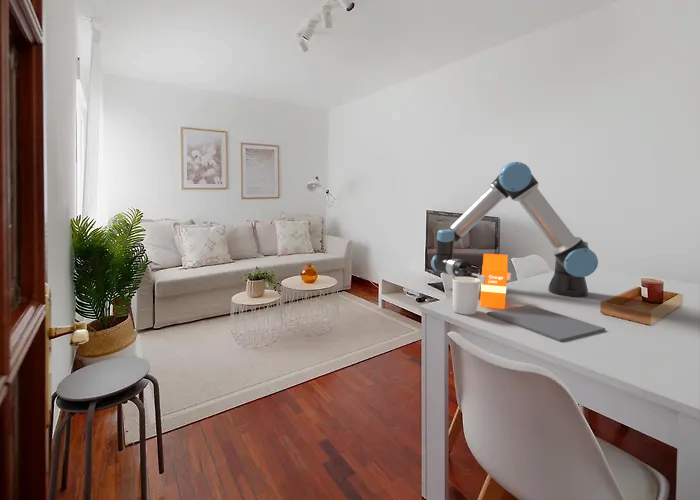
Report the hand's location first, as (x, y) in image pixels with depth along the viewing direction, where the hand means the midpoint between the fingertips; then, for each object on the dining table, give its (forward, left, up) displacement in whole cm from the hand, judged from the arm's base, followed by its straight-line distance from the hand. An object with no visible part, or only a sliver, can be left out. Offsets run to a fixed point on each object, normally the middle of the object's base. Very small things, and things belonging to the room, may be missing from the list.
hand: (498, 278), depth 144 cm
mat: (0, +20, -11) cm, 23 cm away
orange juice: (0, -2, -11) cm, 11 cm away
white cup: (+16, 0, -11) cm, 19 cm away
